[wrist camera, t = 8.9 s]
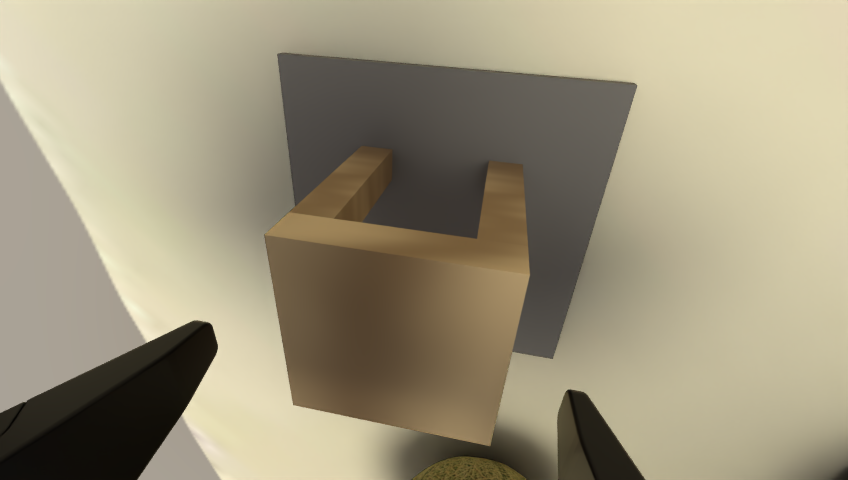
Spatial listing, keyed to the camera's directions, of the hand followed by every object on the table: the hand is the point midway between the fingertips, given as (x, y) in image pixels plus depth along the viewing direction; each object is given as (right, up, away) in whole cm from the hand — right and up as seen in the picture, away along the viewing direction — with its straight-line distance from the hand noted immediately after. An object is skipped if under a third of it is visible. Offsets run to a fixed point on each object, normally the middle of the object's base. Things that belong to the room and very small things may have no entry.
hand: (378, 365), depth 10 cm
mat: (+2, +4, +7) cm, 8 cm away
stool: (+2, +4, +6) cm, 8 cm away
